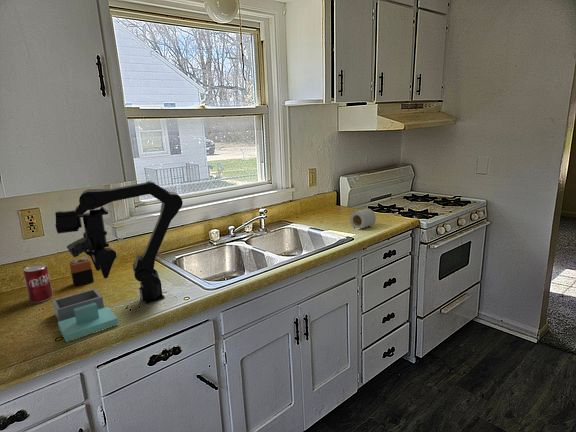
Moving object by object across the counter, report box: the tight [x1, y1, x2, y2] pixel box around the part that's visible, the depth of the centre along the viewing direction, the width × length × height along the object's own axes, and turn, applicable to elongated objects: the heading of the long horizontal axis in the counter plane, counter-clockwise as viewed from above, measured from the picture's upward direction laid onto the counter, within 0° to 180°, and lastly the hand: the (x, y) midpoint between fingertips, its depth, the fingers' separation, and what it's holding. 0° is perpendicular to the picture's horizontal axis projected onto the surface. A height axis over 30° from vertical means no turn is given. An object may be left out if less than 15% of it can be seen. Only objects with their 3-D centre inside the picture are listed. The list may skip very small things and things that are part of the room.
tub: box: [52, 288, 105, 322], centre depth 127 cm, size 13×9×5 cm
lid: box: [57, 303, 119, 343], centre depth 117 cm, size 14×10×7 cm
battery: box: [69, 256, 95, 287], centre depth 150 cm, size 4×7×10 cm, turn 129°
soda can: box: [22, 264, 54, 304], centre depth 137 cm, size 7×7×12 cm
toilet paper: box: [349, 208, 377, 230], centre depth 213 cm, size 10×10×10 cm
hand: (102, 274), depth 127 cm, fingers open, 9 cm apart
